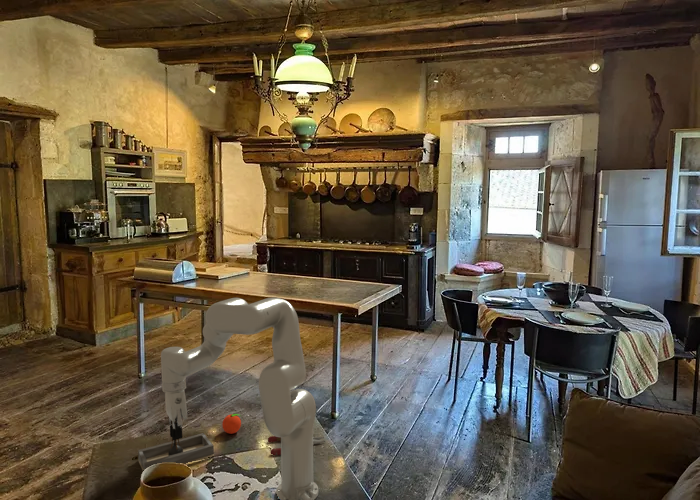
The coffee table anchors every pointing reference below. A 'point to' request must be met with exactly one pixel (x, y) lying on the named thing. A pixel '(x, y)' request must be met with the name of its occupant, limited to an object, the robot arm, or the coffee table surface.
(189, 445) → the rectangular tray
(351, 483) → the coffee table surface
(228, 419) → the clementine
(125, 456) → the coffee table surface
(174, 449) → the wooden tabletop sculpture
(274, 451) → the pliers
